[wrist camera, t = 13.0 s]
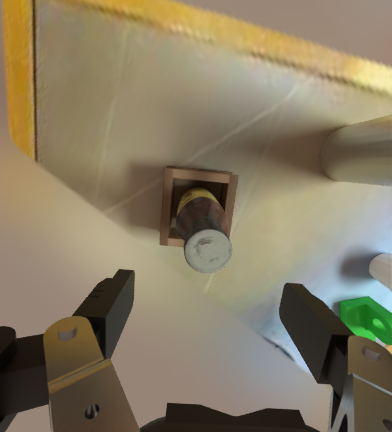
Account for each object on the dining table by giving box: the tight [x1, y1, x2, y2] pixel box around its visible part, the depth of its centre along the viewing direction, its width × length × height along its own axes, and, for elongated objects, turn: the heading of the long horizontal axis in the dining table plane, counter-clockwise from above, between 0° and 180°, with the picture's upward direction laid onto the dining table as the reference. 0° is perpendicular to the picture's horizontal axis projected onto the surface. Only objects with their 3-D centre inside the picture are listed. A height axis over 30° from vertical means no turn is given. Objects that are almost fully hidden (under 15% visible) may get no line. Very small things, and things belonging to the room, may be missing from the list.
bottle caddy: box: [160, 166, 238, 247], centre depth 34 cm, size 11×12×7 cm
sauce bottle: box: [176, 187, 232, 273], centre depth 27 cm, size 6×6×20 cm
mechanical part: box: [340, 297, 392, 345], centre depth 40 cm, size 12×6×8 cm, turn 10°
